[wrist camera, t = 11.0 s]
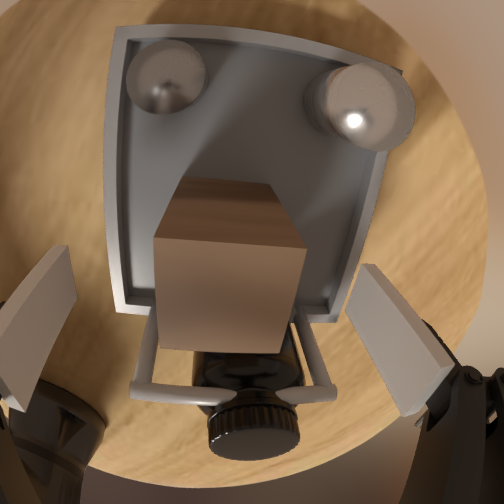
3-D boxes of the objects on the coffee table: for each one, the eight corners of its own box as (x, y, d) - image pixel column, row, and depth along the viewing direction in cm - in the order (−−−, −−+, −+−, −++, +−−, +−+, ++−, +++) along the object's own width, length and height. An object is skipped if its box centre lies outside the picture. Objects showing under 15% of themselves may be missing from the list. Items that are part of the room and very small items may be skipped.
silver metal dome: (139, 112, 14) (122, 115, 11) (146, 51, 12) (130, 41, 10) (203, 114, 14) (200, 116, 12) (211, 52, 13) (210, 40, 10)
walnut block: (182, 176, 16) (153, 237, 9) (269, 184, 17) (307, 248, 10) (178, 254, 18) (159, 348, 11) (257, 259, 19) (279, 353, 12)
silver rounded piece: (297, 129, 15) (327, 140, 11) (307, 63, 13) (342, 49, 9) (360, 142, 16) (406, 160, 12) (370, 81, 14) (420, 79, 10)
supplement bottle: (268, 257, 21) (310, 400, 11) (292, 322, 25) (330, 448, 14) (181, 288, 22) (164, 433, 11) (217, 346, 25) (223, 473, 15)
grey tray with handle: (127, 285, 22) (88, 394, 13) (132, 38, 13) (50, -12, 4) (323, 296, 24) (369, 398, 15) (375, 73, 16) (491, 71, 7)
